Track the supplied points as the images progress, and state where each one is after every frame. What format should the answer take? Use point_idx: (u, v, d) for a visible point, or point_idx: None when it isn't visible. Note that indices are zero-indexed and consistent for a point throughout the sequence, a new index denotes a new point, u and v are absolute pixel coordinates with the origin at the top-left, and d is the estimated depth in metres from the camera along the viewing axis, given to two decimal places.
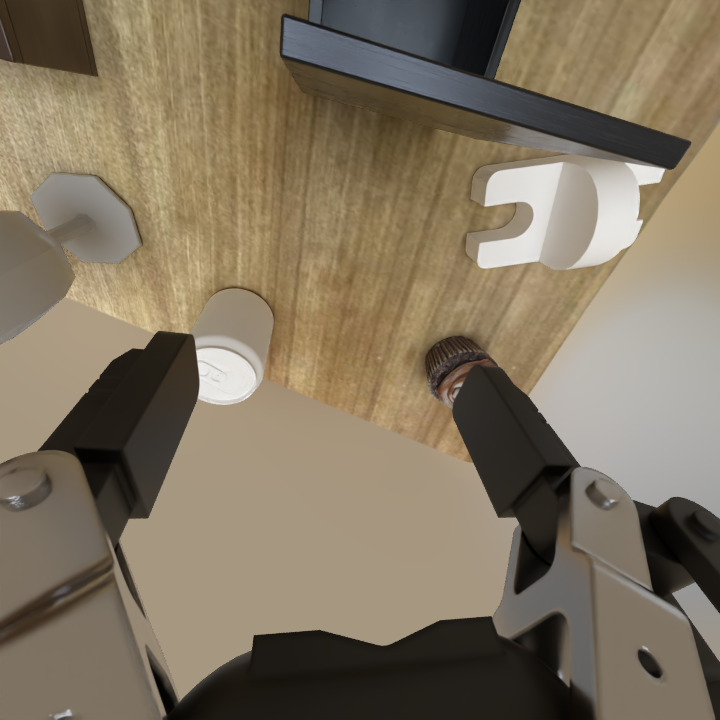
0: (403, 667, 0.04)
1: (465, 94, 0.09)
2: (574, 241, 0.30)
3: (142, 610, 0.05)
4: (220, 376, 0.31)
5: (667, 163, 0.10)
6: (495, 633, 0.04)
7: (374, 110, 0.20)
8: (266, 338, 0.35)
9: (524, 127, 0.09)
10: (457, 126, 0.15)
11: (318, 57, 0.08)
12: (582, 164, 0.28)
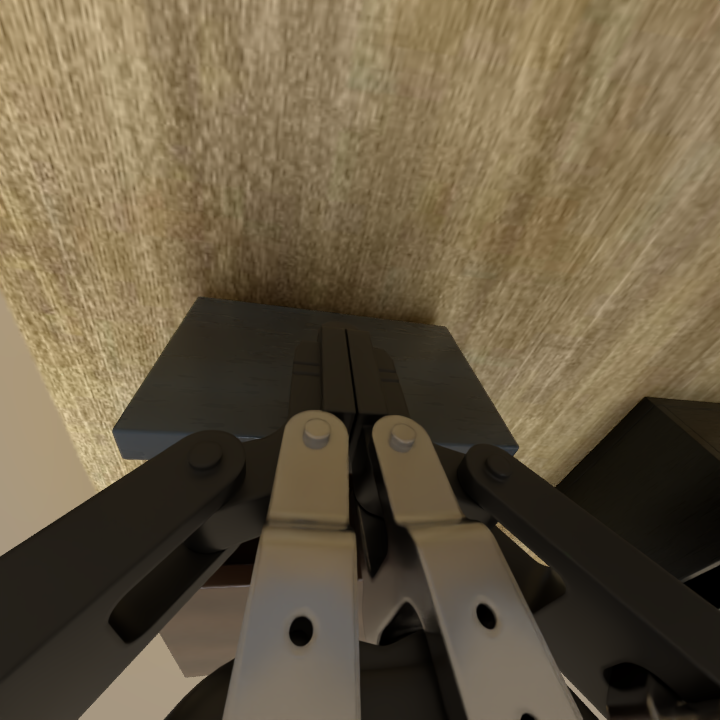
0: (403, 667, 0.04)
1: None
2: None
3: None
4: None
5: None
6: (364, 707, 0.03)
7: None
8: None
9: None
10: None
11: None
12: None
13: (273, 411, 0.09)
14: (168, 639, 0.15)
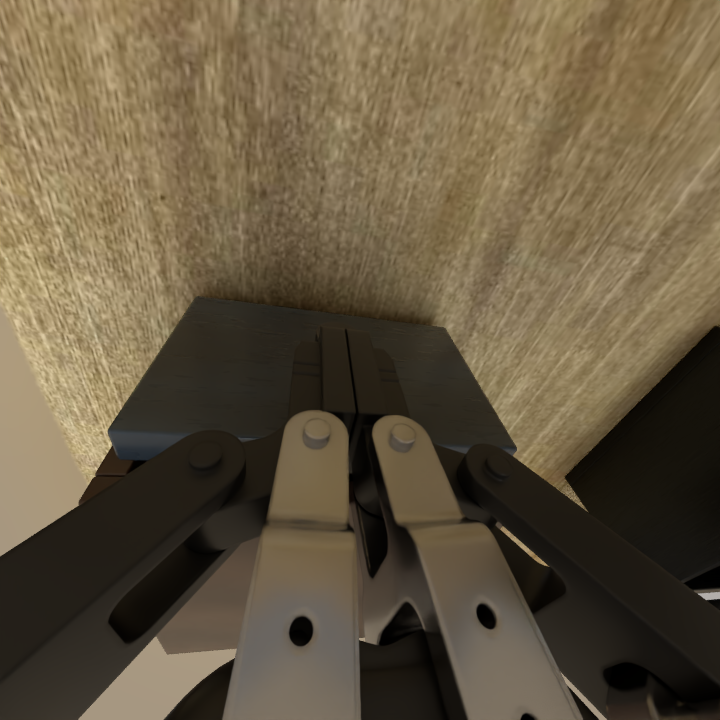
0: (404, 667, 0.04)
1: None
2: None
3: None
4: None
5: None
6: (364, 707, 0.03)
7: None
8: None
9: None
10: None
11: None
12: None
13: (270, 412, 0.09)
14: None
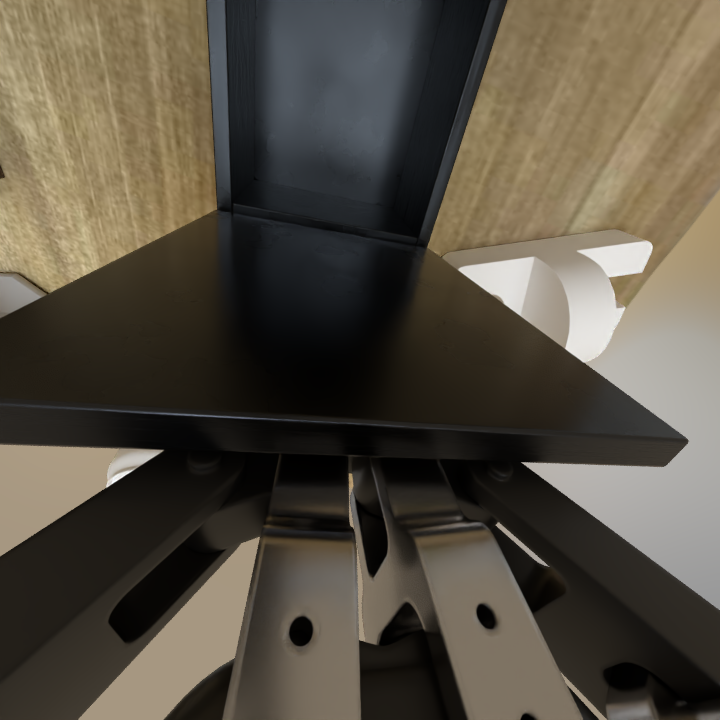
0: (404, 666, 0.04)
1: (286, 441, 0.05)
2: None
3: None
4: None
5: (653, 463, 0.06)
6: (364, 708, 0.03)
7: None
8: None
9: (408, 455, 0.06)
10: None
11: None
12: (554, 265, 0.26)
13: None
14: None
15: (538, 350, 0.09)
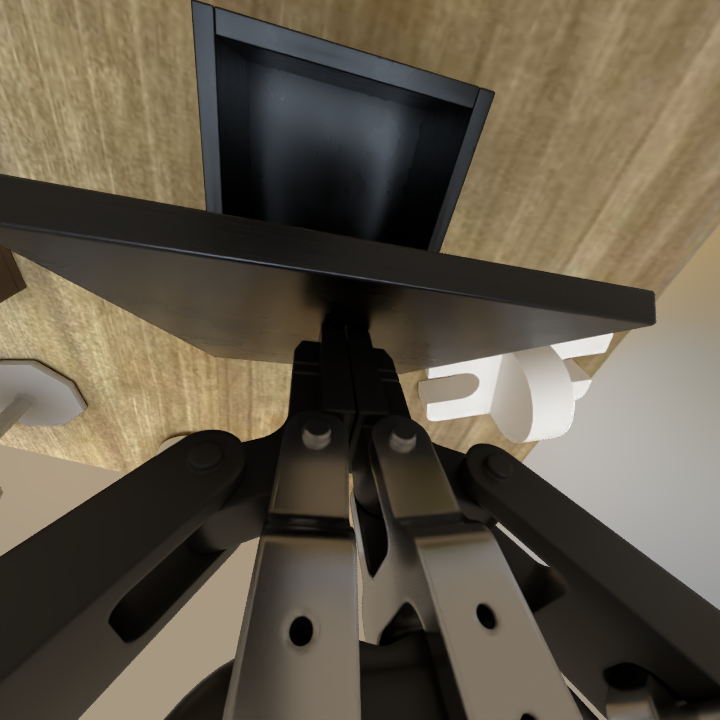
0: (403, 667, 0.04)
1: (304, 252, 0.05)
2: (516, 423, 0.30)
3: None
4: None
5: (642, 317, 0.07)
6: (364, 708, 0.03)
7: (286, 360, 0.19)
8: None
9: (416, 289, 0.06)
10: None
11: (25, 215, 0.05)
12: (520, 356, 0.28)
13: None
14: None
15: None
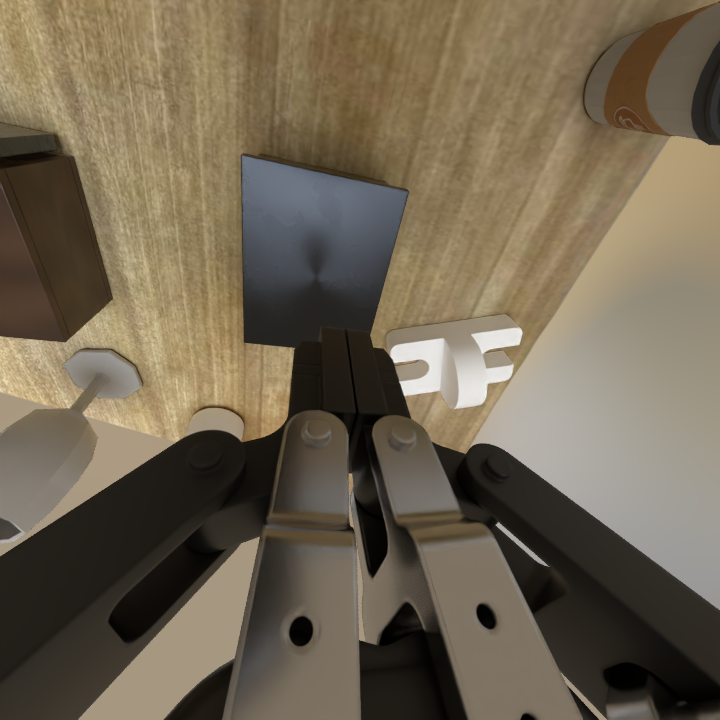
0: (403, 667, 0.04)
1: (310, 168, 0.24)
2: (452, 394, 0.42)
3: None
4: None
5: (404, 189, 0.25)
6: (364, 708, 0.03)
7: (291, 330, 0.32)
8: None
9: (338, 177, 0.24)
10: (333, 273, 0.29)
11: None
12: (452, 346, 0.41)
13: None
14: None
15: None
